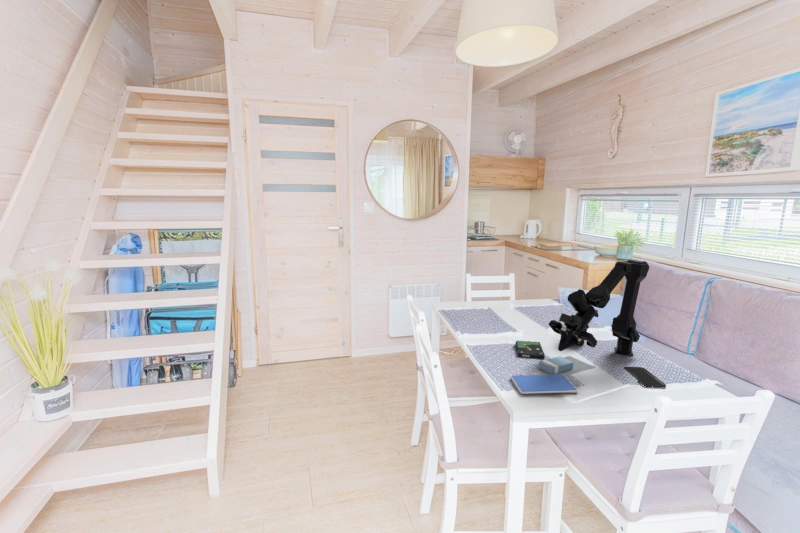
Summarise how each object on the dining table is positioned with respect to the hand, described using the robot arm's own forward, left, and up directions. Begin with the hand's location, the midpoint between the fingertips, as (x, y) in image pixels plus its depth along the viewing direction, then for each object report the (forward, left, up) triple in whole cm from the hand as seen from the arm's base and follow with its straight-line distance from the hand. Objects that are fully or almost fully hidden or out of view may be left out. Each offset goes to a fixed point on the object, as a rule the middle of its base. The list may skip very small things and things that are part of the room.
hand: (559, 350), depth 148 cm
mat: (-3, +2, -8) cm, 8 cm away
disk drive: (-13, -12, -8) cm, 19 cm away
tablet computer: (+17, -4, -7) cm, 19 cm away
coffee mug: (-34, +6, -8) cm, 35 cm away
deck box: (-3, +3, -6) cm, 7 cm away
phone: (-6, +29, -8) cm, 31 cm away
